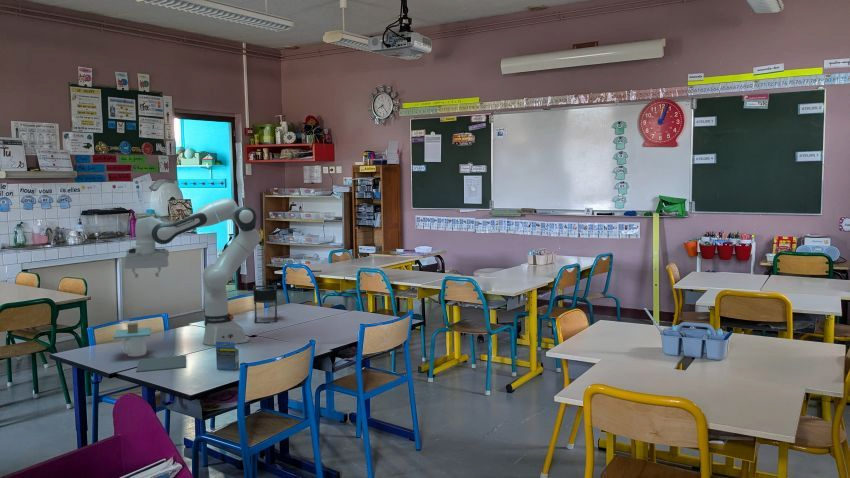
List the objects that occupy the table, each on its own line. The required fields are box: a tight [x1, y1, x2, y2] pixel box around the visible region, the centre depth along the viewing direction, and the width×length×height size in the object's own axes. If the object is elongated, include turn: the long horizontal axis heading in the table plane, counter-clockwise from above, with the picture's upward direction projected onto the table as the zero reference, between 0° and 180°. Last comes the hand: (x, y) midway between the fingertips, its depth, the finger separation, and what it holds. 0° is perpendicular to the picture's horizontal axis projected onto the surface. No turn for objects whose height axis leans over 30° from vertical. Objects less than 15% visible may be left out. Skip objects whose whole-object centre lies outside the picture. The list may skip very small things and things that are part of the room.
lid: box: [113, 322, 152, 340], centre depth 307 cm, size 15×15×5 cm
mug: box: [121, 336, 147, 358], centre depth 307 cm, size 12×8×10 cm
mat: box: [135, 354, 187, 373], centre depth 293 cm, size 20×20×1 cm
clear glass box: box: [252, 284, 278, 324], centre depth 384 cm, size 13×17×22 cm
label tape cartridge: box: [215, 342, 240, 371], centre depth 285 cm, size 9×4×12 cm, turn 81°
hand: (146, 277), depth 324 cm, fingers open, 8 cm apart
